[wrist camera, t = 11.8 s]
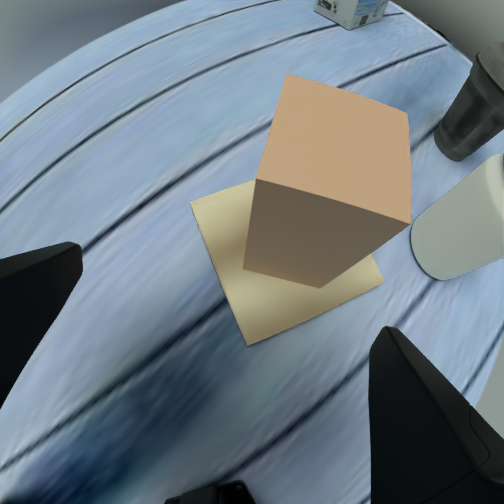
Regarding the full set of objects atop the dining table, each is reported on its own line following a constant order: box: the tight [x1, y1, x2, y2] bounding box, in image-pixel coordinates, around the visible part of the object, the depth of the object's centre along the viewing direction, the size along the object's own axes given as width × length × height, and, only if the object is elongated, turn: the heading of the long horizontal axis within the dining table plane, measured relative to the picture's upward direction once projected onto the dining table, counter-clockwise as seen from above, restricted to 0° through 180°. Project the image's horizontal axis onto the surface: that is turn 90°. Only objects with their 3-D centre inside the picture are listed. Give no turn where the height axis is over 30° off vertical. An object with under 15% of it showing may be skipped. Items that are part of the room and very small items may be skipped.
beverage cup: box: [434, 42, 504, 161], centre depth 18 cm, size 7×7×20 cm
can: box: [411, 154, 504, 280], centre depth 18 cm, size 6×6×12 cm
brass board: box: [190, 179, 384, 346], centre depth 23 cm, size 11×11×1 cm
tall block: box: [243, 74, 411, 289], centre depth 16 cm, size 6×6×12 cm
